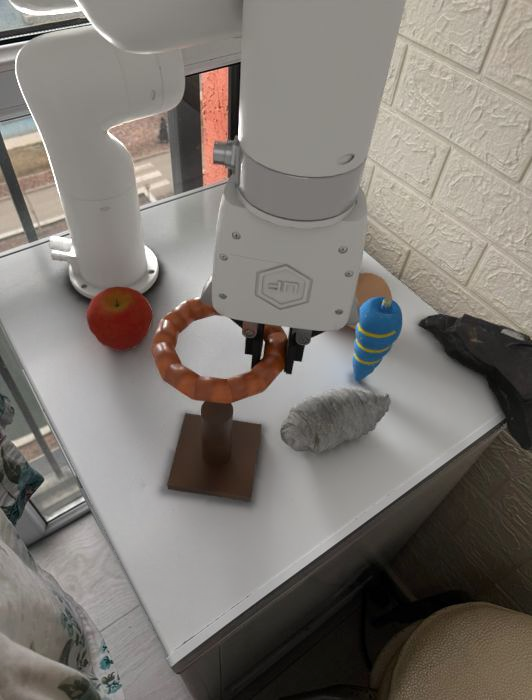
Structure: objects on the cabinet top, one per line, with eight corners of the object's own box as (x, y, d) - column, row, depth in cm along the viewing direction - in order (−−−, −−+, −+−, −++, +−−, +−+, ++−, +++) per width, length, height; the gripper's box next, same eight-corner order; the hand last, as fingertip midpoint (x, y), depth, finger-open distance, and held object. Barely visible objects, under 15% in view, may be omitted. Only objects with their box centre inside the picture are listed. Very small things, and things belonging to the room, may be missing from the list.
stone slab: (390, 342, 71) (401, 314, 68) (462, 311, 79) (475, 286, 76) (525, 459, 59) (547, 432, 55) (593, 409, 67) (616, 383, 64)
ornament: (336, 391, 64) (363, 310, 53) (339, 360, 67) (365, 277, 56) (376, 398, 64) (413, 319, 52) (377, 367, 67) (412, 285, 56)
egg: (360, 297, 75) (375, 253, 69) (393, 329, 72) (412, 286, 65) (321, 315, 72) (333, 270, 66) (354, 350, 69) (369, 306, 62)
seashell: (408, 423, 59) (396, 384, 53) (307, 481, 59) (284, 448, 53) (380, 387, 63) (367, 347, 57) (286, 441, 63) (263, 406, 57)
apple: (166, 329, 68) (161, 288, 62) (132, 371, 64) (124, 330, 57) (117, 309, 70) (108, 266, 64) (81, 348, 65) (68, 306, 59)
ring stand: (167, 489, 54) (159, 443, 46) (185, 418, 60) (181, 366, 52) (250, 501, 54) (256, 458, 46) (260, 429, 60) (268, 379, 52)
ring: (139, 398, 41) (136, 384, 40) (169, 299, 49) (167, 283, 47) (281, 414, 41) (283, 400, 40) (289, 312, 48) (291, 297, 47)
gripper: (152, 188, 28) (173, 381, 42) (437, 226, 28) (363, 407, 42) (181, 124, 33) (192, 316, 47) (425, 156, 33) (362, 339, 47)
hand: (273, 358), depth 45 cm, fingers closed on ring, 2 cm apart
